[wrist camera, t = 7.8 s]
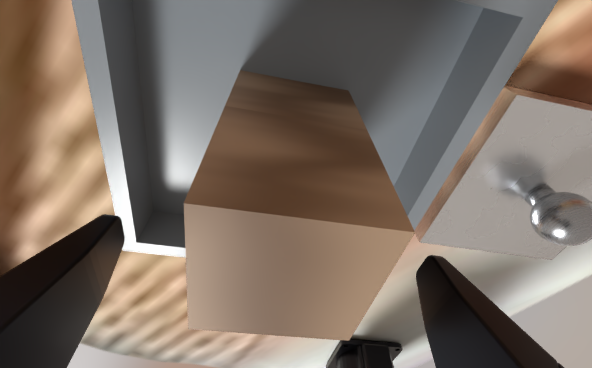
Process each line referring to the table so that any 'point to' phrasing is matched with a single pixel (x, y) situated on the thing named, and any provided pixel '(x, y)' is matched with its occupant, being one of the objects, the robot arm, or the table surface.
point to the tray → (295, 66)
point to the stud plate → (519, 180)
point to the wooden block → (289, 215)
